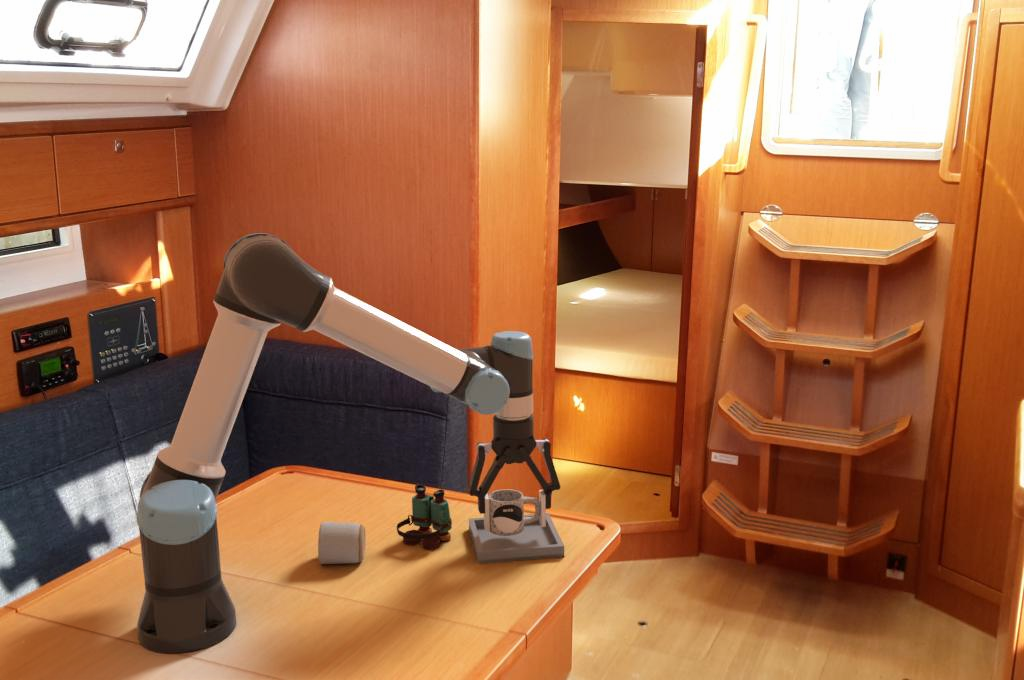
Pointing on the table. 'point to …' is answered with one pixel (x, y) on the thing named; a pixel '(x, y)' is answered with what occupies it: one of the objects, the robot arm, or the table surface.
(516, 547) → the tray
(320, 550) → the ceramic mug
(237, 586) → the table surface
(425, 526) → the binoculars
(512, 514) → the mug
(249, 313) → the robot arm
